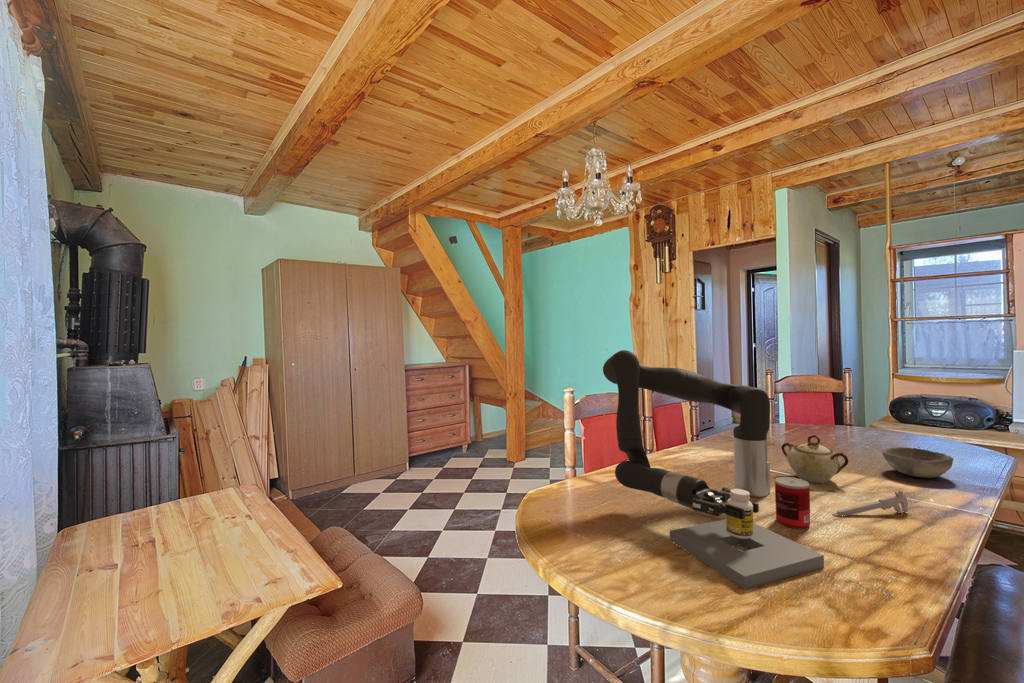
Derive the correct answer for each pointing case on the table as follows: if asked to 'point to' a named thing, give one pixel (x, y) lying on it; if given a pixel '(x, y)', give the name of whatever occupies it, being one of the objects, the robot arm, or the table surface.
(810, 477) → the sugar bowl
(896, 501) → the caliper
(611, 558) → the table surface
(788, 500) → the canned food
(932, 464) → the bowl
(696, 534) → the socket board
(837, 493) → the table surface
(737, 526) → the supplement bottle
